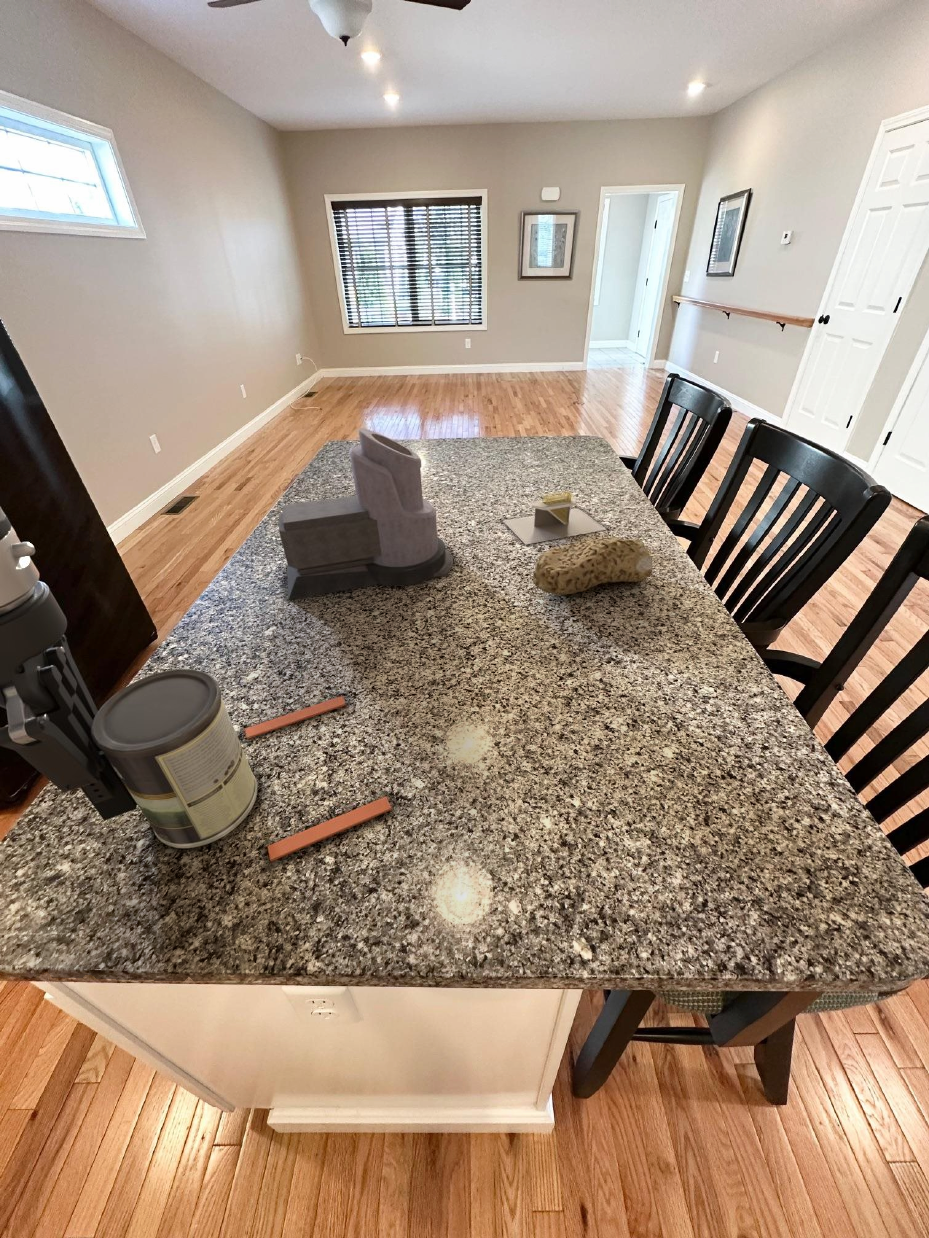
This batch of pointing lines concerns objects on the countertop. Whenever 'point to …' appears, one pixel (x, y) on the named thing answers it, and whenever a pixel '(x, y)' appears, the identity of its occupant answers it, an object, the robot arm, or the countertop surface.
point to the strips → (329, 826)
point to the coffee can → (178, 756)
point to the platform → (553, 520)
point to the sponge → (591, 565)
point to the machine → (365, 527)
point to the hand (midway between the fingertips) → (121, 808)
